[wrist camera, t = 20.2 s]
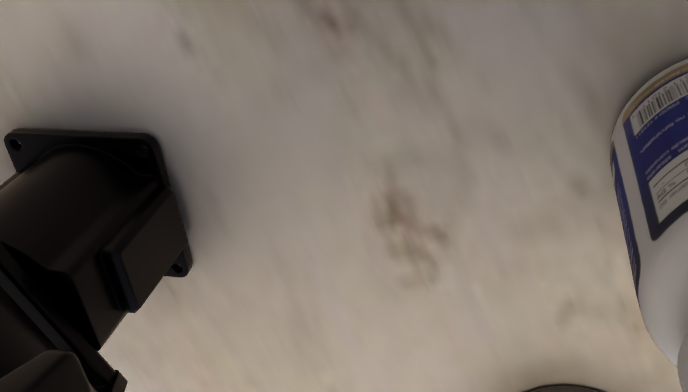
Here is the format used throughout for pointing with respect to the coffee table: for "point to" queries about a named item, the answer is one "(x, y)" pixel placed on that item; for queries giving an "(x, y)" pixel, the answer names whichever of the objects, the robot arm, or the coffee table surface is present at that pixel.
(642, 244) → the pill bottle
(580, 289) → the coffee table surface
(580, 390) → the bottle
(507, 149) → the coffee table surface
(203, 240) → the coffee table surface
